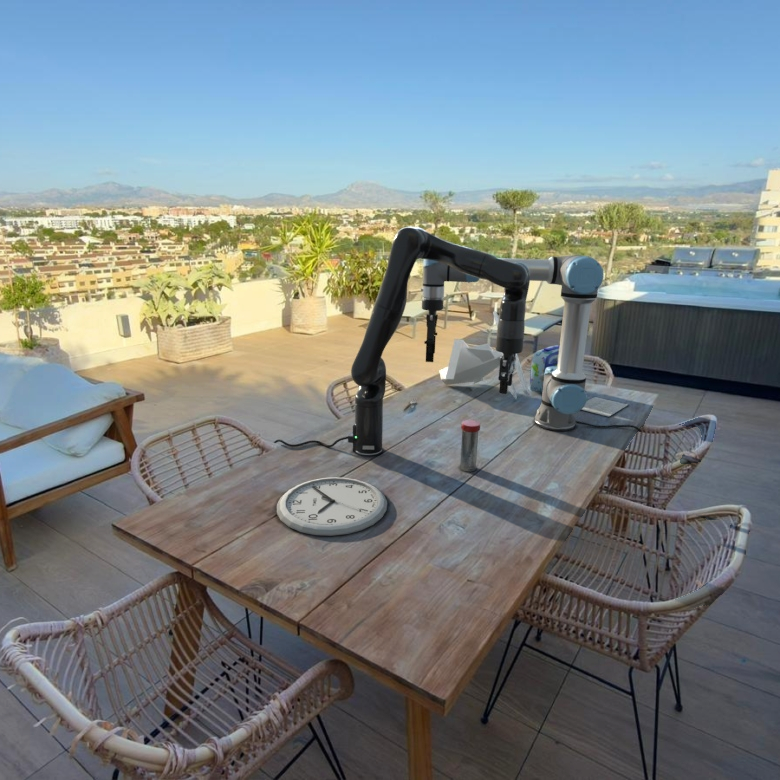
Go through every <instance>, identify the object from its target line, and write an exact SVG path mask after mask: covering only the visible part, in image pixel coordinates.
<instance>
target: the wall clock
mask: <svg viewBox="0 0 780 780" xmlns="http://www.w3.org/2000/svg"><path fill="white" fill-rule="evenodd" d="M387 509H388V500H387V498H386V496H385V494H384V493H383V492H382V491H381V490H380V489H379V488H377V487H376V486H374V485H372V484H371V483H369V482H365V481H362V480H359V479H355V478H349V477H338V476H337V477H335V476H333V477H332V476H331V477H322V478H317V479H312V480H307V481H305V482H302V483H299V484H297V485H295V486H293V487H292V488H290V489H288V490H287V491H286V492H285V493H284V494H283V495H281V496H280V498H279V499H278V502H277V503H276V515H277V517H278V518H279V520H280V521H281V522H282V523H283V524H285V525H286V526H287V527H288V528H290V529H293V530H295V531H297V532H299V533H303V534H308V535H312V536H327V537H328V536H329V537H331V536H332V537H333V536H342V535H350V534H352V533H356V532H361V531H363V530H366V529H368V528H369V527H372V526H373V525H375V524H376V523H378V522H379V521H380V520H381V519H382V518H383V517H384V516H385V514H386V512H387Z"/></svg>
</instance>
